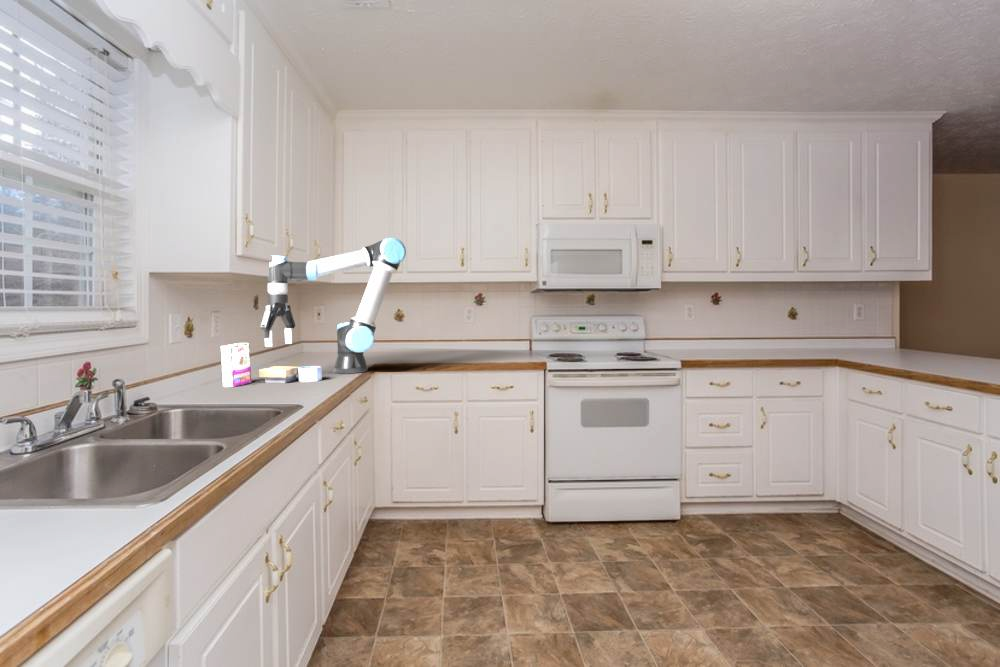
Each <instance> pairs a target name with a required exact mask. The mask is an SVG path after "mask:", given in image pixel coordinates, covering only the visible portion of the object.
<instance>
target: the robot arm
mask: <svg viewBox="0 0 1000 667" xmlns="http://www.w3.org/2000/svg"><path fill="white" fill-rule="evenodd" d="M406 255H407V248H406V246H405V244H404V243H403V242H402V241H401V240H400V239H398V238H395V237H386V238H384V239H382V240H379V241H377V242H375V243H373V244H370V245H367V246H363V247H362V248H361V249H359V250H354V251H350V252H346V253H345V252H344V253H341V254H336V255H332V256H328V257H323V258H322V257H321V258H319V259H313V260H309V261H290V260H288V258H287V256H283V255H271V256H272V261H271V262H269V276H268V277H267V276H266V278H267V293H268V295H267V302H268V304H270V305H265V306H264V307H265V308H264V313H263V317H262V321H261V322H260V329H261V330H262V331H264V346H265V347H273V330H272V327H273V325H274V323H275V321H276V319H277V318H278V317H279V318H280V319H281V321H282V323H283V324H284V326H285V328H284V339H285V340H284V342H285V344H286V345H287V344H289V345H291V344H293V329H295V327H296V323H295V320H294V316H293V313H292V311H291V308H292V307H291V305H290V304H289V305H288V304H287V303H288V302H289V295H288V293H289V292H288V291H289V289H288V280H289V281H291V280H292V281H294V282H303V281H316V280H317V279H318V277H323V276H326V275H332V274H335V273H340V272H344V271H349V270H352V269H358V268H361V267H365V266H366V267H367V268H371V267H373V270H372V272H371V274H370V277H369V280H368V282H367V285H366V286H365V287H366V288H365V290H364V292H363V296H362V298H361V302H360V304H359V306H358V309H357V311H356V313H355V314H356V315H355V316H352V317H351V318H350V321H348V322H340V323H338V324H337V325H336V326H337V327H336V341H337V358H336V360H335V364H334V368H333V370H334V371H333V372H334V373H335V374H358V373H359V374H360V373H365V372H368V370H369V368H368V364H367V361H366V358H365V356H364V352H367V351H368V350H370V349H371V348H372V347H373V345H374V342H375V331H376V329H377V326H376V324H375V323H376V322H375V321H376V318H377V316H378V313H379V311H380V307H381V305H382V303H383V300H384V297H385V294H386V292H387V289H388V286H389V283H390V281H391V278H392V276H393V274H394V273H397V271H398V269H399V266H400V263H403V261H404V259H405V258H406ZM286 304H287V305H286Z"/></svg>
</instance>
